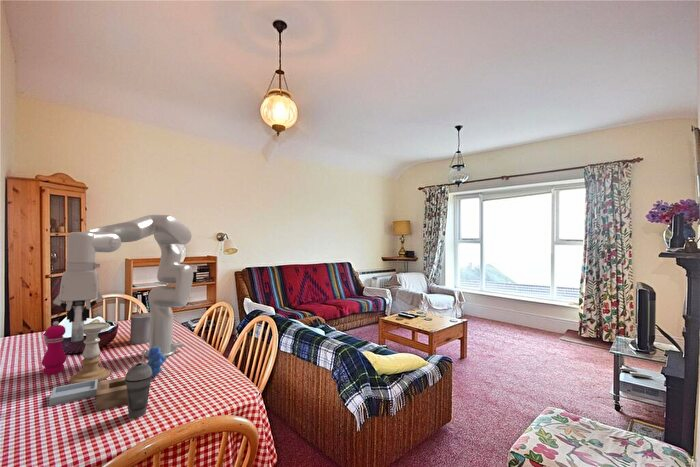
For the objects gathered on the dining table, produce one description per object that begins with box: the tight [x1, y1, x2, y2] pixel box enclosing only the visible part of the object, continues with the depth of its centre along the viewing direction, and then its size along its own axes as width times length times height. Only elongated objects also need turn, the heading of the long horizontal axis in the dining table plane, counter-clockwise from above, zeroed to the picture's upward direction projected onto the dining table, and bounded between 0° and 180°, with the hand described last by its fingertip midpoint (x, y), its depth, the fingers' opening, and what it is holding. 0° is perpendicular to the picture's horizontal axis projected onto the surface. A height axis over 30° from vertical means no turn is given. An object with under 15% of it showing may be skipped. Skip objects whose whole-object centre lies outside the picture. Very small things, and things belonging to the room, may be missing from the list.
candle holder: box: [68, 321, 111, 385], centre depth 123 cm, size 12×12×20 cm
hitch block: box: [95, 376, 128, 412], centre depth 108 cm, size 11×11×5 cm
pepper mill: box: [41, 320, 67, 376], centre depth 128 cm, size 7×7×20 cm
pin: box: [70, 300, 86, 343], centre depth 110 cm, size 3×3×14 cm
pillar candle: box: [129, 312, 150, 345], centre depth 166 cm, size 10×10×15 cm
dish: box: [48, 379, 98, 407], centre depth 109 cm, size 12×9×2 cm
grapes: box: [146, 347, 167, 378], centre depth 127 cm, size 12×7×12 cm, turn 49°
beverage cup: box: [125, 348, 153, 419], centre depth 99 cm, size 7×7×20 cm
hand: (78, 320), depth 110 cm, fingers closed on pin, 3 cm apart
